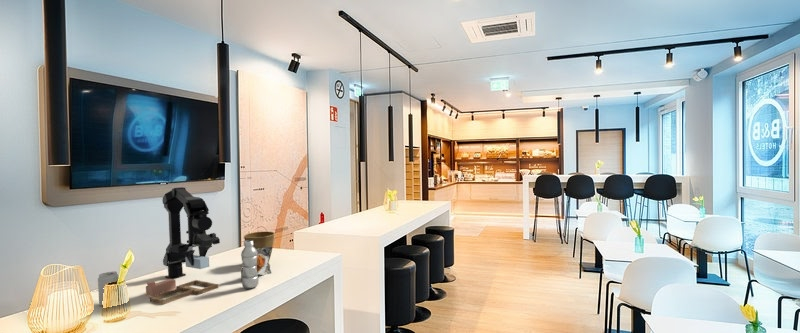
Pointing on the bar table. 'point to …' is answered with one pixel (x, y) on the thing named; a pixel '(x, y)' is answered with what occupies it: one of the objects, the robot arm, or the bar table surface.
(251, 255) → the plastic bottle
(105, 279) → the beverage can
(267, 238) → the plant pot
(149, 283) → the block
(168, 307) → the bar table surface
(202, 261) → the light blue rectangular block
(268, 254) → the meal
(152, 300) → the jig
